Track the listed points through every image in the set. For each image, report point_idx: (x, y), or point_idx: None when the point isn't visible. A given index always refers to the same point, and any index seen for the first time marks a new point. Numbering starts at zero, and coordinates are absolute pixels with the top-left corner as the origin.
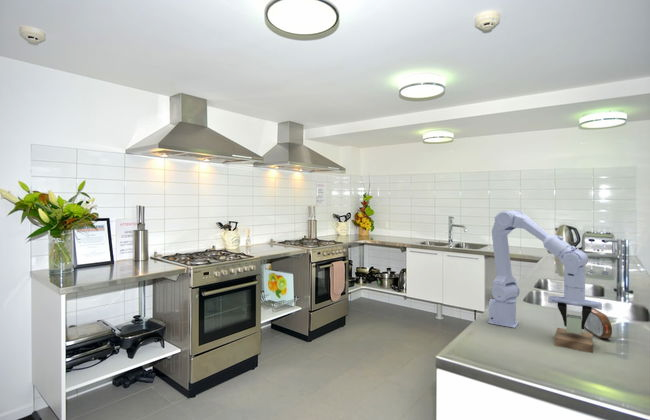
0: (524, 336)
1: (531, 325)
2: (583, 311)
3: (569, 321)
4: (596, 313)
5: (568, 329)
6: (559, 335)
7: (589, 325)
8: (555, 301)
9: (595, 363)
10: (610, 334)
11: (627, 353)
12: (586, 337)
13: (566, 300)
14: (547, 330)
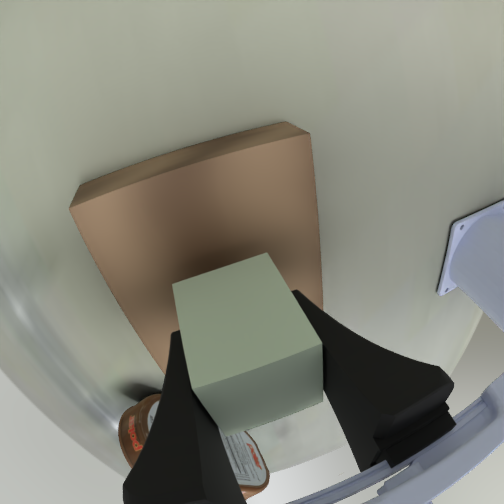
0: (423, 147)
1: (399, 309)
2: (187, 475)
3: (280, 321)
4: None
5: (261, 269)
6: (294, 209)
7: (223, 434)
8: (467, 423)
9: (16, 23)
10: (123, 417)
11: (10, 323)
12: (160, 314)
13: (425, 501)
14: (347, 312)
